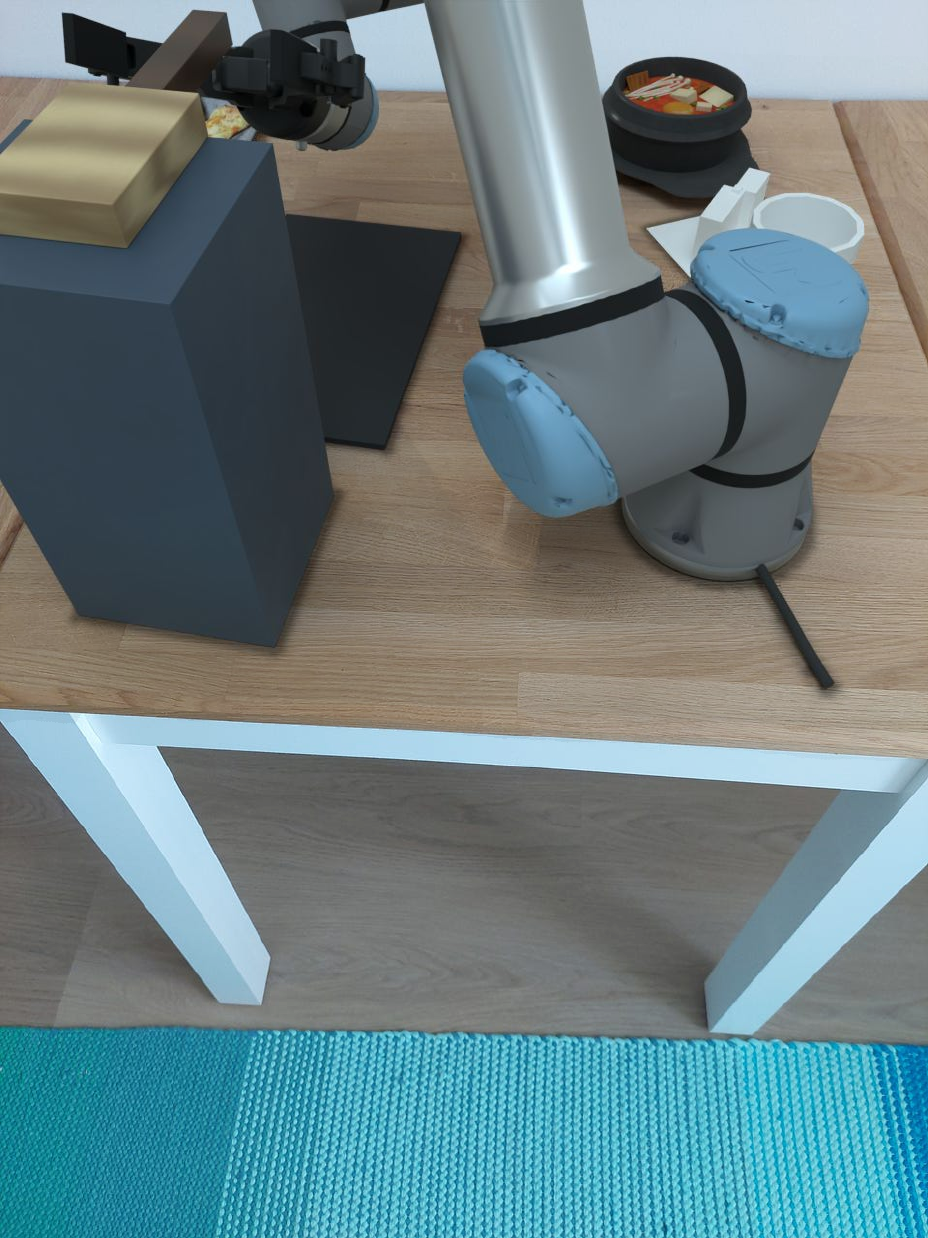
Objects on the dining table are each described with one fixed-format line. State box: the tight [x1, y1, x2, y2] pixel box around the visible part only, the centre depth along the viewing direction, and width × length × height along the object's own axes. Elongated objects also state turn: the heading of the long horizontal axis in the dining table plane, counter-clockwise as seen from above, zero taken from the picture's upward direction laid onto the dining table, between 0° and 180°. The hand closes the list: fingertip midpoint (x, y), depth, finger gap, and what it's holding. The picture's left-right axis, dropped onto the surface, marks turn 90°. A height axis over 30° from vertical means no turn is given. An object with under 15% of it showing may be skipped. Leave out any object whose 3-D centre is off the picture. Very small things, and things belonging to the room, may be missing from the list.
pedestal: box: [0, 118, 335, 648], centre depth 64 cm, size 16×16×30 cm
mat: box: [285, 213, 462, 451], centre depth 93 cm, size 34×20×1 cm, turn 169°
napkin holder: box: [645, 168, 771, 279], centre depth 99 cm, size 15×11×6 cm
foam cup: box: [749, 192, 865, 266], centre depth 85 cm, size 10×9×13 cm
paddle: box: [0, 9, 234, 249], centre depth 55 cm, size 24×8×2 cm, turn 169°
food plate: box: [200, 96, 259, 141], centre depth 113 cm, size 25×23×4 cm
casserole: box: [601, 56, 761, 199], centre depth 108 cm, size 25×19×8 cm
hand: (170, 46), depth 57 cm, fingers open, 13 cm apart
